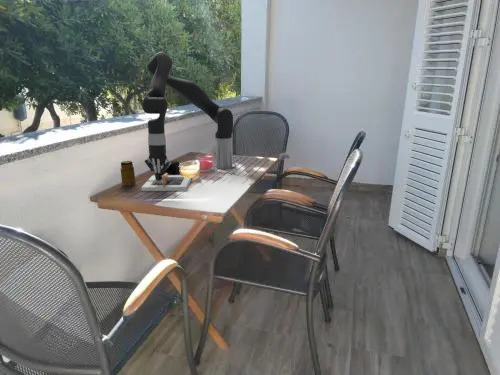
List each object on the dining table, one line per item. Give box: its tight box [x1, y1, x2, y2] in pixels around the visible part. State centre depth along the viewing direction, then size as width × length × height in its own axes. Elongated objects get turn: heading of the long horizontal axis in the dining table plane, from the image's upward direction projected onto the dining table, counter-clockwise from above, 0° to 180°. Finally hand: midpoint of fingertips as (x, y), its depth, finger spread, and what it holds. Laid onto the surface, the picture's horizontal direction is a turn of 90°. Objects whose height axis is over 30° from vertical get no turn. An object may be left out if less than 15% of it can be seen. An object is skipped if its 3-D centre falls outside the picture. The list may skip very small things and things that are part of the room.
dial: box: [155, 173, 181, 185], centre depth 168 cm, size 12×11×6 cm
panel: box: [141, 174, 192, 192], centre depth 169 cm, size 20×20×3 cm
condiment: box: [120, 160, 136, 188], centre depth 167 cm, size 7×8×12 cm
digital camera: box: [162, 160, 180, 175], centre depth 188 cm, size 10×5×7 cm, turn 75°
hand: (159, 180), depth 163 cm, fingers closed
